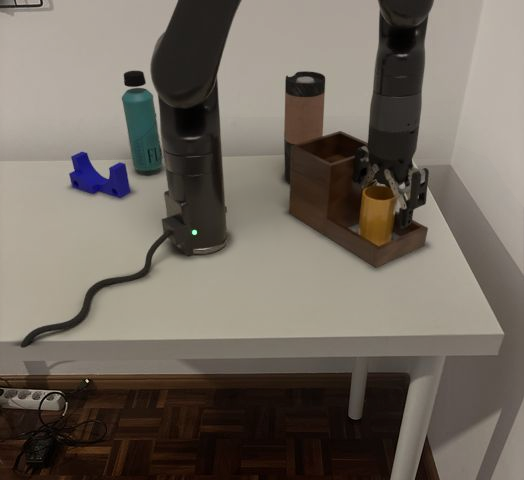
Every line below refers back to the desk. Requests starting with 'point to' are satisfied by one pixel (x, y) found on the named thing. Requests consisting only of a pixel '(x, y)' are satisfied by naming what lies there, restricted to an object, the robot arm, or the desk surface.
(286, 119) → the travel mug
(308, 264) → the desk surface
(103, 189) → the blue curved bracket
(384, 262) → the organizer
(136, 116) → the beverage bottle
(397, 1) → the robot arm
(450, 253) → the desk surface
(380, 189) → the cup
